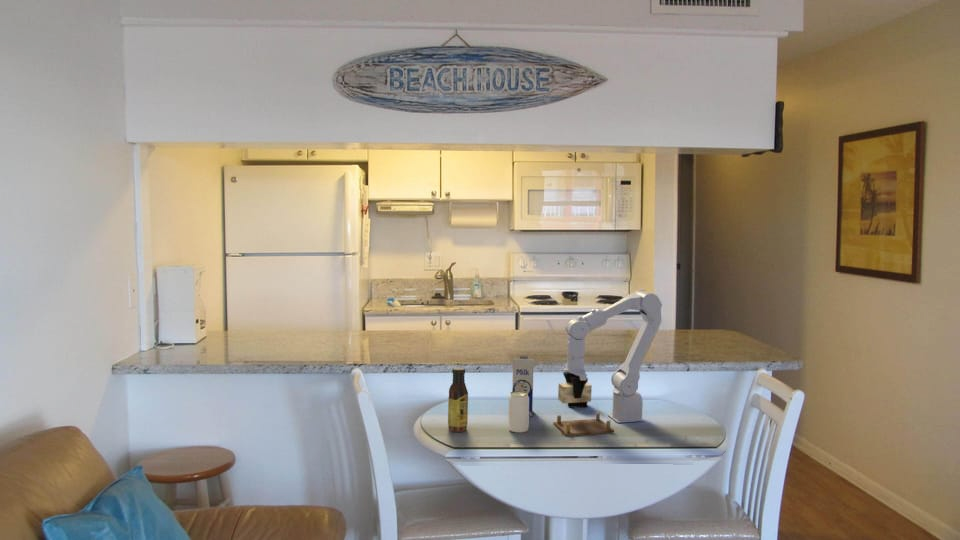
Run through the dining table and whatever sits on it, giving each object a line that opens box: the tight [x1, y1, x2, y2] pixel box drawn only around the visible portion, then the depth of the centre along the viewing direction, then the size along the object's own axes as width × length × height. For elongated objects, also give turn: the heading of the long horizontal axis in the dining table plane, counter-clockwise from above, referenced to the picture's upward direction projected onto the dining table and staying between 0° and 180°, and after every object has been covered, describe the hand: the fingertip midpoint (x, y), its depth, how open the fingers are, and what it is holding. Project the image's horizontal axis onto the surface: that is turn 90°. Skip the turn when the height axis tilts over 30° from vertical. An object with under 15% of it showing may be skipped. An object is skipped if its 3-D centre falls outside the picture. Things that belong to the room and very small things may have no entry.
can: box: [507, 391, 530, 434], centre depth 198 cm, size 6×6×12 cm
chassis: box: [552, 411, 615, 437], centre depth 200 cm, size 16×11×3 cm
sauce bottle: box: [447, 366, 469, 433], centre depth 197 cm, size 6×6×20 cm
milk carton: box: [511, 355, 535, 418], centre depth 213 cm, size 7×7×20 cm
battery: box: [567, 381, 589, 408], centre depth 223 cm, size 4×7×10 cm, turn 84°
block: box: [557, 382, 593, 404], centre depth 207 cm, size 10×4×6 cm, turn 103°
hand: (574, 395), depth 207 cm, fingers closed on block, 4 cm apart
